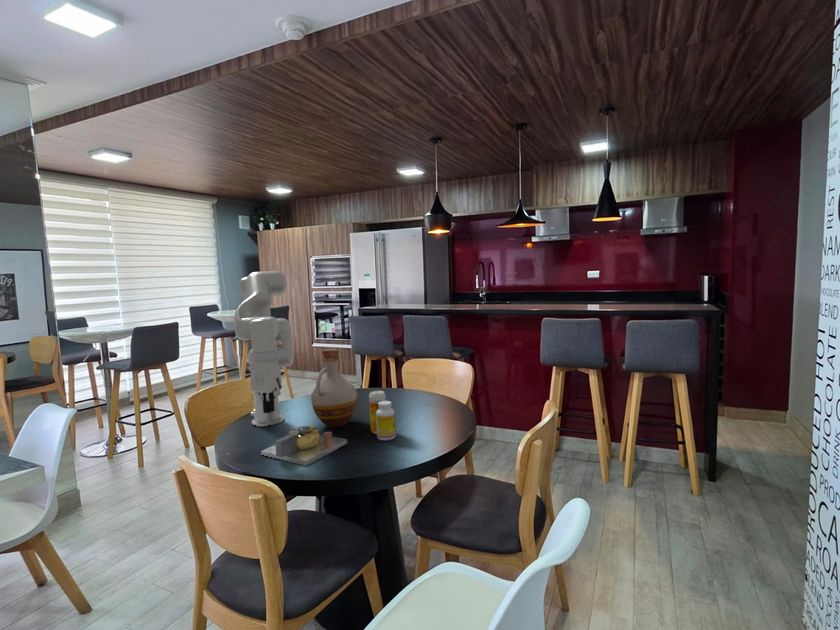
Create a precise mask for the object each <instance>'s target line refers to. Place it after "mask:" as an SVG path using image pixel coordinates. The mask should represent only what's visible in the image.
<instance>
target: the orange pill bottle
mask: <svg viewBox="0 0 840 630" xmlns="http://www.w3.org/2000/svg"><path fill="white" fill-rule="evenodd" d="M386 398H387V397H386V393H385V391H383V390H373V391H370V392H369V395H368V401H369V405H368V406H369V419H370V420H369V422H370V431H371V433H372V434H374V435H377V422H376V411H377V410H378V409H379V406H378V403H379V402H381V401H387V399H386Z"/></svg>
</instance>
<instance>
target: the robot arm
mask: <svg viewBox="0 0 840 630" xmlns="http://www.w3.org/2000/svg"><path fill="white" fill-rule="evenodd" d="M287 285H288V284H287V278H286V276H285V274H284V273H283V272H282V271H279V270H275V271H274V270H273V271H272V270H271V271H268V270H267V271H253V272H251V273H250V274H248V275H247V276H245V277H242V278H241V279H240V280H239V283H238V286H239V291H240V295H241V296H242V299H243V302H241V303H240V304H239V305H238V306H237V308H236V310H235V312H234V333H235V336H236V338H238V340H240V341H251V344H250V345H251V349H250V350H249V351H248V355H247V356H248V357H247V358H248V365H249V367H250V370H249V371H250V372H249V374H250V380H249V382H250V389H251V391H252V392H253V403H254V408H253V410H252V411H251V412H250V416H253V419H252V420H251V425H252V424H253V426H254V425H256V426H255V427H269V426H268V425H271V426H274V424H275V425H278V424H280V423H282V422H284V420H285V417H284V415H283V414H281V413H280V402H279V401H280V399H279V398H280V397H279V395H280V396H281V394H282V393H281V390H282V388H283V383H282V381H283V380H282V373H281V368H287V367H290V366H292V365H293V363H294V347H293V337H292V328H291V324H290V322H289V320H288V319H286V318H283V317H279V318H277V317H275V316H271V306H272V304H273V297H281V296H283V295H284V294H285V293H286V291H287V287H288V286H287ZM277 342H279V344H277ZM280 343H281V344H280Z"/></svg>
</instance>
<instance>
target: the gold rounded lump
mask: <svg viewBox="0 0 840 630" xmlns="http://www.w3.org/2000/svg"><path fill="white" fill-rule="evenodd" d="M316 428H317V427H316V426H314V425H313V426H307V425H305V426H299V427H298V428H297V430H290V431H289V432H288V434H287V435H284V436H283V437H281V438H278V439H276V440H275V441H274V443H275V444H274V445H276V456H278V457H283V456H285V455H287V454H289V453H291V452H293V451H295V450H303V449H309V448H313V447H315V446H317V445H318V444H319V443H320V436H319V434H320V429H316Z"/></svg>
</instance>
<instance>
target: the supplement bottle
mask: <svg viewBox="0 0 840 630" xmlns="http://www.w3.org/2000/svg"><path fill="white" fill-rule="evenodd" d="M378 406H379V409H378V410H377V411H376V422H377V434H376V436H377V437H376V438H377V439H378V440H380V441H391V440H394V439H395V438H396V436H397V435H396V415H395V409H394V408H392V407H393V406H392V401H389V400H386V401H381V402H379V403H378Z"/></svg>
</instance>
